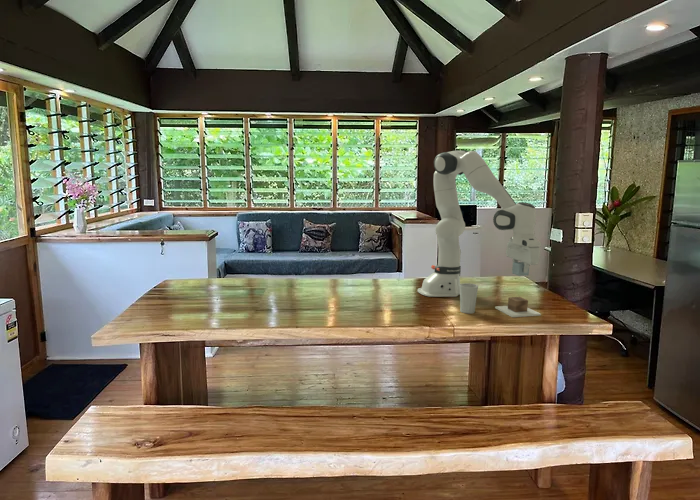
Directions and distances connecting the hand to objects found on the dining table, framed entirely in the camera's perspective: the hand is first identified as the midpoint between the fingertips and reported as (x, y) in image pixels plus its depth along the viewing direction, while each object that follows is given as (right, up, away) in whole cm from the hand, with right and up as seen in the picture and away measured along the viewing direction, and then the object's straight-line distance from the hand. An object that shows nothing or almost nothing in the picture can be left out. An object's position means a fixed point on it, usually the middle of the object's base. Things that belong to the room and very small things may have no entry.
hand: (520, 270), depth 212 cm
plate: (0, -19, +3) cm, 19 cm away
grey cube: (0, -2, 0) cm, 2 cm away
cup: (-23, -19, +2) cm, 30 cm away
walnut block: (0, -18, +3) cm, 18 cm away
